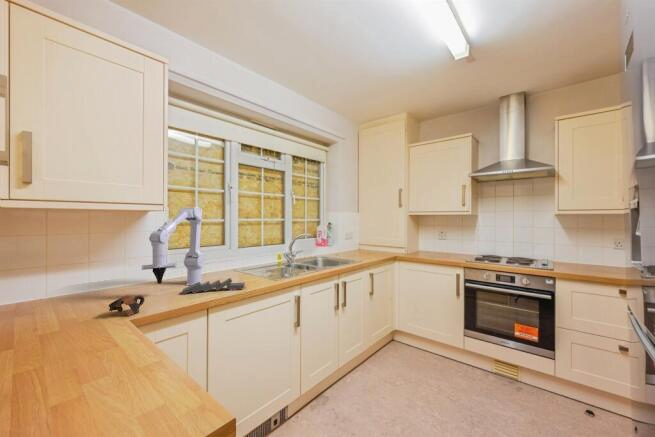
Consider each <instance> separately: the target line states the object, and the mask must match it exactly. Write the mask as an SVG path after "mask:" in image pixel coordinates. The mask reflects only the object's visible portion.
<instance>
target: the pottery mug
mask: <svg viewBox="0 0 655 437" xmlns="http://www.w3.org/2000/svg"><path fill="white" fill-rule="evenodd" d="M138 300H139V302H138ZM123 304H124V305H126V306H128V307H129V310H127V311H125V314H126V316H127V317H128V318H129V317H132V316H133V315H135V314H137V313H140V308H141V306H143V305H144V304H145V297H144V296H143V295H141V294H140V295H137V296H134V297H131V296H130V295H129V294H127V295H124V296H122V297H120V298H118V299H116V300H114V301H112V302H111V303H109V304H108V312H113V311H117V312H119V313H121V312H122V311H123V310H124V307H123V306H122V305H123Z"/></svg>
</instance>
